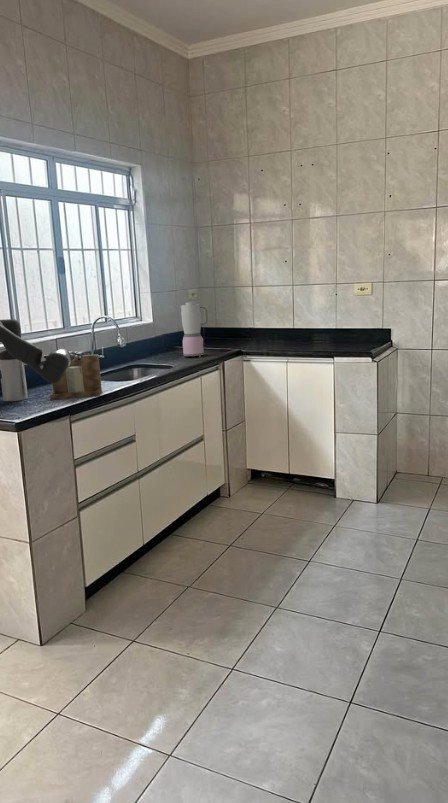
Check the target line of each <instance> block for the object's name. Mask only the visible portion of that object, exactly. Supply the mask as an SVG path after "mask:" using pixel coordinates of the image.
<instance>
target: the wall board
mask: <svg viewBox="0 0 448 803" xmlns="http://www.w3.org/2000/svg"><path fill="white" fill-rule="evenodd" d="M71 366H77V367H82V375H83V383H84V391H85V392H76V393H68V386H67V378H66V370H65V371H64V373H63V375H62V377H61V379H60V381H59V382H57V383H52V392H51V393H50V395H49V397H50V398H49V399H50V401H53V400H55V401H56V400H65V399H66V400H68V399H80V398H94V397H93V396H95V397H101V395H102V392H103V391H102V388H103V387H102V380H101V368H100V359H99V354H85V355H84V354H83V358H82V359H81V360H77V359H75V360H74V361H72V362H71V364H70V366H69V367H71Z"/></svg>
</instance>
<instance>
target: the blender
mask: <svg viewBox="0 0 448 803" xmlns="http://www.w3.org/2000/svg"><path fill="white" fill-rule="evenodd" d="M179 307H180V309H181V310H180V313H181V325H182V330H183V333H184V334H183V338H182V349H183V350H182V351H183V357H184V356H187V357H195V356H196V357H198V356H200V355H203V356H204V355H205V352H204V348H205V347H206V342H204V338H203V337H202V335H201V329H202V328H201V327H202V326H203V325H206V324H207V323H208V311H207V308H206V307H204V306H201V305H200V304H199V303H198V304H196V303H195V301H193V302H185V304H182V305H180V306H179ZM201 311H203V316H204V318H203V319H204V321H202V314H201Z"/></svg>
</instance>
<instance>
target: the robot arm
mask: <svg viewBox="0 0 448 803" xmlns="http://www.w3.org/2000/svg"><path fill="white" fill-rule="evenodd" d="M21 329H22V328H21V324H20V322H19V320H18V319H17V318H9V319H0V343H1V344H2V346H3V347H4V349H5V350H3V351H0V374H1V378H0V384H1V391H2V400H3V402H16V401H17V402H18V401H25V400H27V399H28V398H29V396H28V388H27V380H26V372H25V371H26V370H25V365H27V366H29V367H30V369H32V370H34V371H35V373H37V374H38V375H39V376H40V377H41V378H42V379H44V381H46V382H48V383H49V384H53V383H57V382H59V381H60V379H61V377H62V375H63V373H64V371H65V370H66V369H67V368H68V367H69V366H70V364H71V362H72V361H74V360H75V359H77V360H81V359H82V358H83V356H84V354H83V351H78V350H75V351H68V350H67V349H64V348H59V349H57V350H55V351H52V352H50V353H49V354H47V353H45V354H44V355H43V350H42V349H41V348H40V347H39V346H37V345H35V344H34V343H33V344H32V343H31V342H29V341H27V340H25V339H23V338H22V331H21ZM42 358H43V362H44V364H43V363H42Z"/></svg>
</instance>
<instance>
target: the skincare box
mask: <svg viewBox="0 0 448 803" xmlns="http://www.w3.org/2000/svg"><path fill="white" fill-rule="evenodd" d="M66 378H67V386H68V393H76V392H85V391H84V383H83V375H82V367H77V366H71V367H68V368H67V369H66Z"/></svg>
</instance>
